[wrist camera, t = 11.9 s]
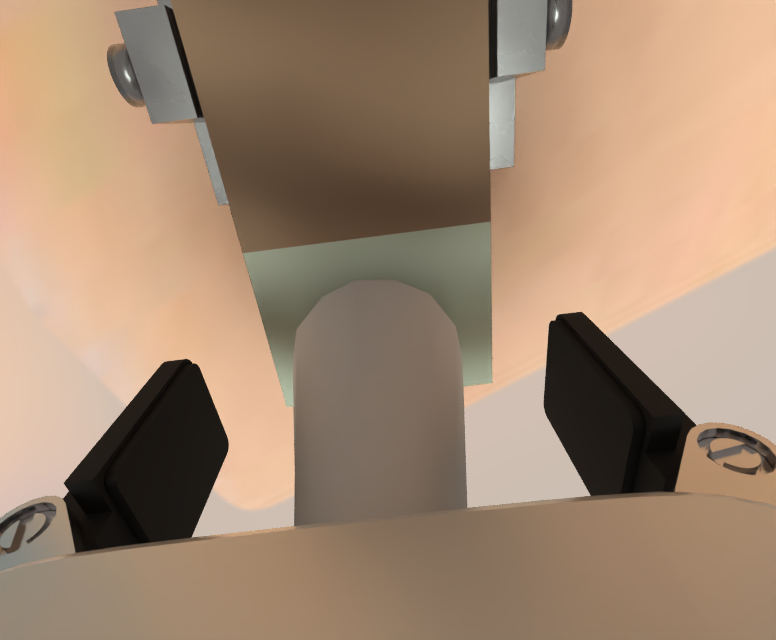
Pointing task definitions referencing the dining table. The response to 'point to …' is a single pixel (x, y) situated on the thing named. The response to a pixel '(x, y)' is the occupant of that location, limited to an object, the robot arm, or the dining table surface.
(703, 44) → the dining table surface
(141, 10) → the beam stand
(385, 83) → the balance beam
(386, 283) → the salt shaker
